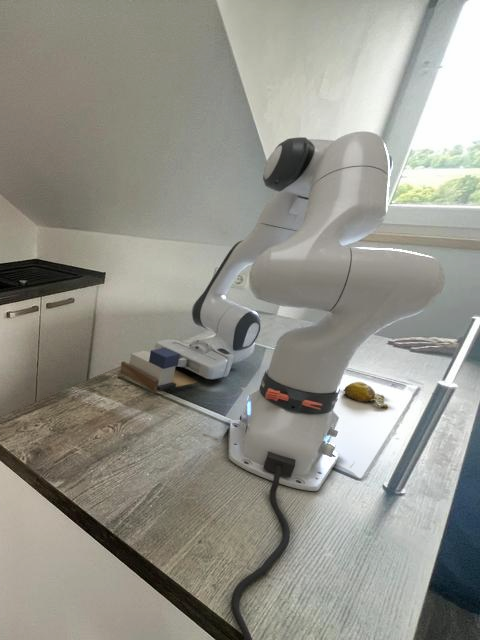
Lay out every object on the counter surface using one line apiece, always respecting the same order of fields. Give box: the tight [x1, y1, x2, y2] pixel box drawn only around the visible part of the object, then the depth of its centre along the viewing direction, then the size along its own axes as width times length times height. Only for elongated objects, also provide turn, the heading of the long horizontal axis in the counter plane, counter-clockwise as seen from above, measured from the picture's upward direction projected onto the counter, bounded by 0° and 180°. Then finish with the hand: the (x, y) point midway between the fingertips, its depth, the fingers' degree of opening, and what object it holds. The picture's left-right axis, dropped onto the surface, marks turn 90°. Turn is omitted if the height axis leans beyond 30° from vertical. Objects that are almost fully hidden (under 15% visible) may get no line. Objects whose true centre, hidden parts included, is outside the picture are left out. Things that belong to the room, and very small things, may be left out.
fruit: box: [343, 381, 389, 408], centre depth 96 cm, size 8×8×4 cm
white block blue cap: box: [129, 348, 180, 392], centre depth 101 cm, size 12×6×9 cm, turn 26°
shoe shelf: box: [119, 361, 200, 393], centre depth 105 cm, size 16×13×4 cm
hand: (166, 361), depth 104 cm, fingers closed
